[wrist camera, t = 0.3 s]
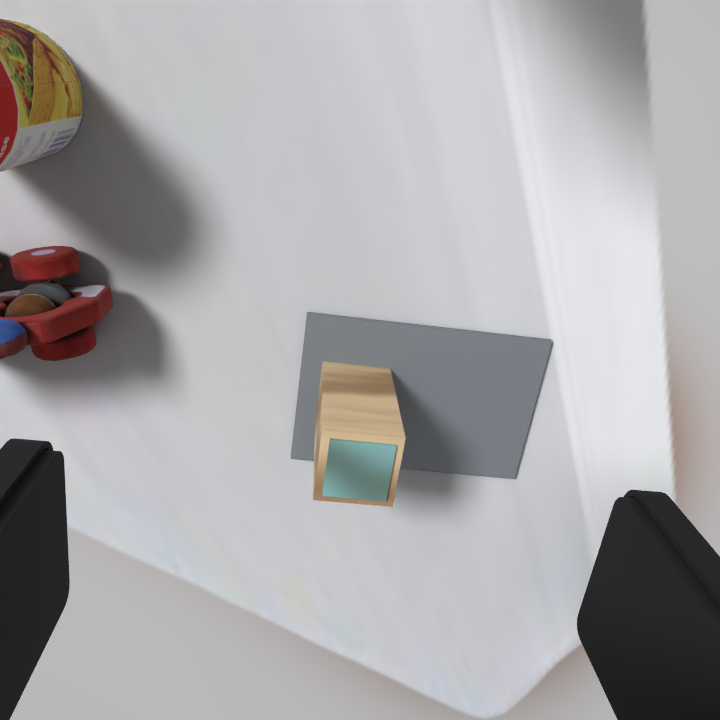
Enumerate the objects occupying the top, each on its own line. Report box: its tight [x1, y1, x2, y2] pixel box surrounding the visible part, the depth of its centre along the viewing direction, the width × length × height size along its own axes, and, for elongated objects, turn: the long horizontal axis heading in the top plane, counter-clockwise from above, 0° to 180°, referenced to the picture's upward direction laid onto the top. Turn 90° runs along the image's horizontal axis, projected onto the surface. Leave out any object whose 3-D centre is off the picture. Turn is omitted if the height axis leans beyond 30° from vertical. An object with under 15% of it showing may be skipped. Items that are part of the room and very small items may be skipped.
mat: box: [291, 312, 552, 479], centre depth 50 cm, size 12×18×1 cm, turn 82°
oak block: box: [313, 361, 406, 507], centre depth 45 cm, size 5×5×10 cm
